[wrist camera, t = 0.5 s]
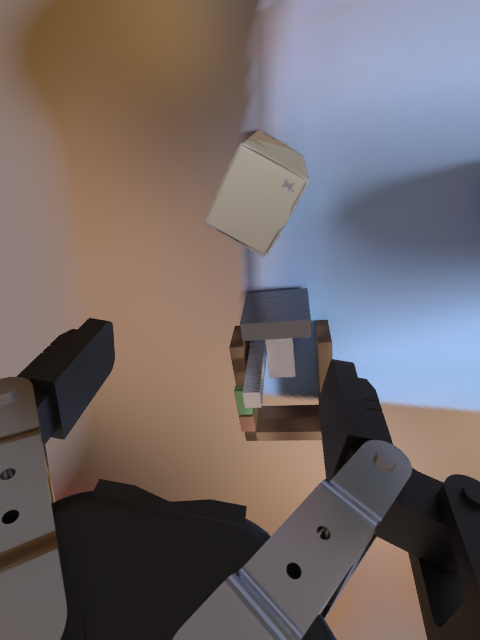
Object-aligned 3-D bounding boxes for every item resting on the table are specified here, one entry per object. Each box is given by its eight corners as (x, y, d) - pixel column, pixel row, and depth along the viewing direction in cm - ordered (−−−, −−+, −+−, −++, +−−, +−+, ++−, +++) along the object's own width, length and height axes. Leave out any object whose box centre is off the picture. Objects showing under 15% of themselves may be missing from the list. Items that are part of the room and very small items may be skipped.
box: (257, 128, 28) (242, 134, 19) (305, 156, 29) (314, 177, 19) (228, 190, 31) (200, 224, 21) (272, 215, 31) (266, 259, 22)
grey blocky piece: (307, 288, 34) (312, 336, 26) (310, 353, 37) (316, 412, 30) (245, 293, 35) (233, 341, 27) (254, 356, 38) (246, 414, 31)
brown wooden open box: (327, 320, 36) (332, 347, 31) (330, 412, 41) (334, 445, 37) (234, 325, 37) (227, 352, 33) (248, 414, 43) (244, 446, 39)
